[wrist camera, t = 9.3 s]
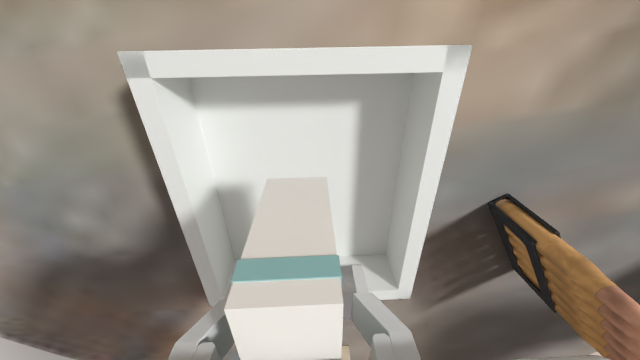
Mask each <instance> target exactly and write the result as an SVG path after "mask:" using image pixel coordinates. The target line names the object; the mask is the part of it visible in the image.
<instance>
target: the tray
mask: <svg viewBox="0 0 640 360" xmlns="http://www.w3.org/2000/svg"><path fill="white" fill-rule="evenodd" d="M471 49H472V45H443V46H389V47H335V48H282V49H228V50H175V51H121V52H117V53H118V56H119V59H120V62H121V64H122V67H123V70H124V72H125V75H126V78H127V81H128V83H129V86H130V89H131V92H132V94H133V97H134V100H135V103H136V105H137V108H138V111H139V113H140V116H141V119H142V122H143V124H144V127H145V130H146V133H147V135H148V138H149V141H150V143H151V146H152V149H153V152H154V154H155V157H156V160H157V163H158V165H159V168H160V171H161V174H162V176H163V179H164V182H165V184H166V187H167V190H168V193H169V195H170V198H171V201H172V204H173V206H174V209H175V212H176V214H177V217H178V220H179V223H180V225H181V228H182V231H183V234H184V236H185V239H186V242H187V245H188V247H189V250H190V253H191V255H192V258H193V261H194V264H195V266H196V269H197V272H198V275H199V277H200V280H201V283H202V285H203V288H204V291H205V294H206V296H207V299H208V302H209V305H210V306H215V305H216V304H217V303H218V302H219V301H220V300H222V299H224V298H225V295H226V292H227V290H228V287H229V284H230V281H231V278H232V275H233V272H234V270H235V267H236V264H237V261H238V259H241V256H242V253H243V250H244V247H245V244H246V241H247V238H248V235H249V232H250V229H251V226H252V223H253V220H254V217H255V214H256V211H257V208H258V205H259V202H260V199H261V196H262V193H263V190H264V187H265V184H266V181H267V179H275V178H303V177H327V185H328V192H329V200H330V207H331V214H332V222H333V229H334V237H335V244H336V252H337V255H339V260H340V264H361V265H362V267H363V271H364V275H365V279H366V284H367V288H368V292H369V293H373V294H374V295H375V296H376V297H377V298H378V299H379V300H386V299H410V297H411V293H412V289H413V285H414V280H415V276H416V272H417V268H418V264H419V260H420V256H421V252H422V248H423V244H424V240H425V236H426V232H427V228H428V224H429V220H430V216H431V212H432V207H433V203H434V199H435V195H436V191H437V187H438V183H439V179H440V175H441V171H442V167H443V163H444V159H445V155H446V151H447V147H448V143H449V139H450V134H451V130H452V126H453V122H454V118H455V114H456V110H457V106H458V102H459V98H460V94H461V90H462V86H463V82H464V78H465V74H466V70H467V66H468V61H469V57H470V53H471Z"/></svg>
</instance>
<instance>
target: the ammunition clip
mask: <svg viewBox="0 0 640 360" xmlns="http://www.w3.org/2000/svg"><path fill="white" fill-rule="evenodd" d="M488 205H489V208H490V210H491V213H492V215H493V218H494V220H495V223H496V225H497V228H498V230H499V233H500V235H501V238H502V241H503V243H504V246H505V248H506V251H507V253H508V256H509V258H510V261H511V263H512V266H513V268H514V270H515V271H516V272H517V273H518V274H519V275H520V276H521V277H522V278H523V279H524V281H525V282H526V283H527V284H528V285H529V286H530V287H531V288H532V289H533V290H534V291H535V292H536V293H537V294H538V295H539V297H540V298H541V299H542V300H543V301H544V302H545V303H546V304H547V305H548V306H549V307H550V308H551V309H552V310H553V311H554V312H558V313H559V314H560V315H561V316H562V317H563V318H564V319H565V320H566V322H567V323H568V324H569V325H570V326H571V327H572V328H573V329H574V330H575V331H576V332H577V333H578V334H579V335H580V336H581V337H582V338H583V339H584V340H585V341H586V342H587V343H589V344H590V345H591V346H592V347H593V348H595V349H596V350H597V351H598V352H599V353H600V354H601V355H602V356H603V357H605V358H608V359H610V360H640V305H639V304H638V303H637V302H636V301H634V300H633V299H632V298H631V297H630V296H628V295H627V294H626V293H625V292H623V291H622V290H621V289H620V288H618V286H617V285H616V284H614V283H613V282H612V281H611V280H610V279H608V278H607V277H606V276H605V275H604V274H603V273H602V272H601V271H600V270H599V269H598V268H597V267H596V266H595V265H594V264H593V263H592V262H591V261H590V260H588V259H587V258H586V257H584V256H583V255H582V254H580V253H579V252H578V251H576V250H575V249H574V248H573V247H571V246H570V245H569V244H567V243H566V242H565V241H563V240H562V239H561V237H560V233H559V231H557V230H556V229H555V228H553V227H552V226H551V225H549V224H548V223H547V222H545V221H544V220H543V219H541V218H540V217H539V216H537V215H536V214H535V213H533V212H532V211H531V210H529V209H528V208H527V207H525V206H524V205H523V204H521V203H520V202H519V201H517V200H516V199H515V198H514V197H512V196H511V195H510V194H507V195H505V196H503V197H500V198H498V199H496V200H494V201H492V202H490V203H489V204H488Z"/></svg>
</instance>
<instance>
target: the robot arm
mask: <svg viewBox="0 0 640 360" xmlns="http://www.w3.org/2000/svg"><path fill="white" fill-rule="evenodd" d="M340 267H341V274H342V286H341V289H342V296H343V320H345V319H352V322H353V323H354V324H355V326H356V327H357V329H358V330H359V331H360V333H361V334H362V336H363V337H364V338H365V340H366V341H367V343H368V344H369V345H370V347H371V351H370V358H369V360H421V358H420V355H419V352H418V350H417V347H416V344H415V341H414V339H413V336H412V333H411V331H410V330H409V329H408V328H407V327H406V326H405V325H404V324H403V323H402V322H401V321H400V320H399V319H398V318H397V317H396V316H395V315H394V314H393V313H392V312H391V311H390V310H389V309H388V308H387V307H386V306H385V305H384V304H383V303H382V302H381V301H380V300H379V299H378V298H377V297H376V296H375V295H374V294H373V293H369V292H368V288H367V284H366V279H365V275H364V271H363V267H362V265H361V264H340ZM233 273H234V272H233ZM232 276H233V275H232ZM231 279H232V278H231ZM231 286H232V284H231V281H230V284H229V287H228V290H227V292H226V295H225V298H224V299H222V300H220V301H219V302H218V303H217V304H216V305H215V306H214V307H213V308H211V309H210V310H209V311H208V312H207V313H206V314H205V315H204V316H203V317H202V318H201V319H200V320H199V321H198V322H197V323H196V324H195V325H194V326H193V327H191V328H190V329H189V330H188V331H187V332H186V333H185V334H184V335H183V336H182V337H181V338H180V339H179V340H178V341H177V342H176V343H175V345H174V347H173V349H172V351H171V353H170V355H169V357H168V360H222V359H223V358H224V356H225V355H226V353H227V352H228V351H229V349H230V348H231V347H232V345H233V344H234V343H235V341H234V338H233V335H232V332H231V329H230V326H229V323H228V320H227V317H226V314H225V311H224V308H225V305H226V302H227V299H228V296H229V293H230V289H231ZM512 360H610V359H608V358H605V357H602V356H596V355H585V356H567V357H549V358H530V359H512Z"/></svg>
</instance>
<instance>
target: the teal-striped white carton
mask: <svg viewBox="0 0 640 360" xmlns="http://www.w3.org/2000/svg"><path fill="white" fill-rule="evenodd" d="M231 284H232V286H231V289H230V293H229V296H228V299H227V302H226V305H225V308H224V311H225V314H226V317H227V320H228V323H229V326H230V329H231V332H232V335H233V338H234V341H235V344H236V347H237V351H238V354H239V357H240V360H341V355H342V330H343V296H342V289H341V286H342V274H341V267H340V260H339V255H337V252H336V244H335V237H334V229H333V222H332V214H331V207H330V200H329V192H328V185H327V177H303V178H275V179H267V181H266V184H265V187H264V190H263V193H262V196H261V199H260V202H259V205H258V208H257V211H256V214H255V217H254V220H253V223H252V226H251V229H250V232H249V235H248V238H247V241H246V244H245V247H244V250H243V253H242V256H241V259H238V261H237V264H236V267H235V270H234V273H233V276H232V279H231Z"/></svg>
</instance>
